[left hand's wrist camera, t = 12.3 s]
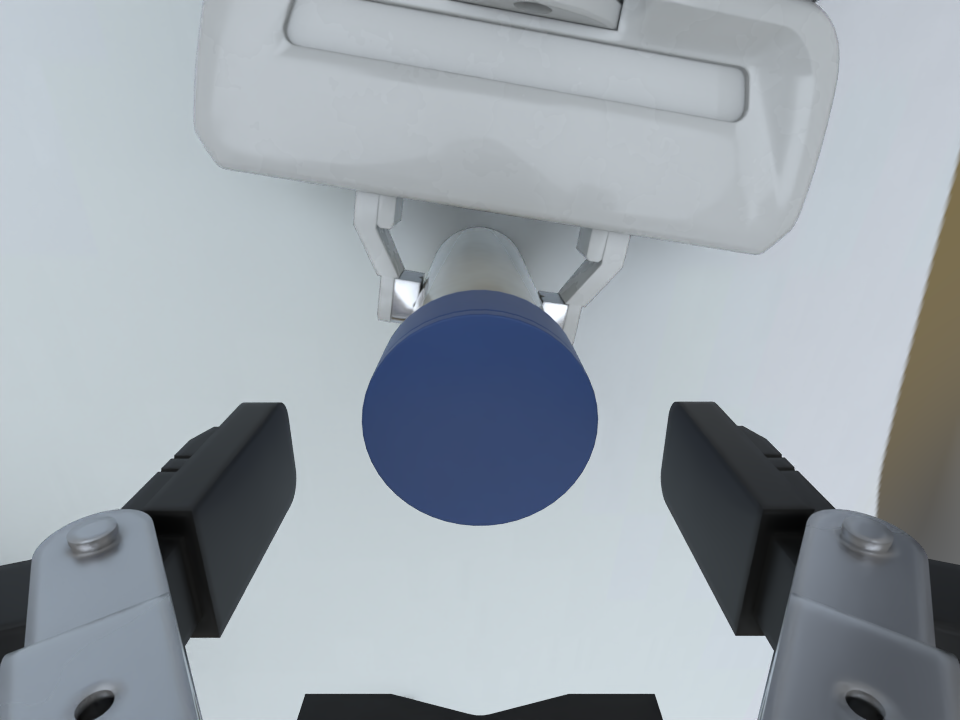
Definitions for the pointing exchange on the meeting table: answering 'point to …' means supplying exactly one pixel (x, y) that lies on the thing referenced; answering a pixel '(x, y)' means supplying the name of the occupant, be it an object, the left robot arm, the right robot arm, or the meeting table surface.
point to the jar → (478, 267)
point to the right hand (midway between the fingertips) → (476, 331)
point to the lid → (479, 410)
